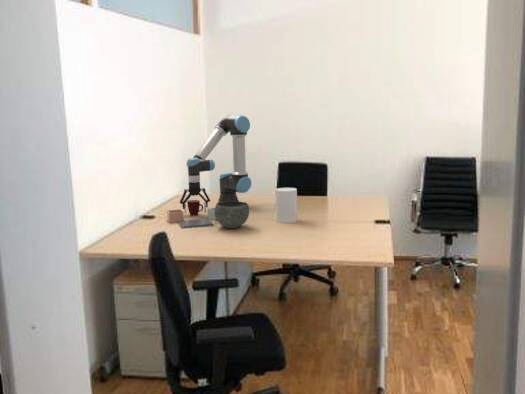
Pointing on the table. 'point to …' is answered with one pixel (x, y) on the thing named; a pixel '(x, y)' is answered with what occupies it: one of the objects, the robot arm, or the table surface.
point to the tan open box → (175, 215)
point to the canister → (286, 205)
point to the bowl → (231, 213)
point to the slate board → (195, 223)
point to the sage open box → (211, 214)
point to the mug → (194, 207)
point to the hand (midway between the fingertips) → (195, 213)
